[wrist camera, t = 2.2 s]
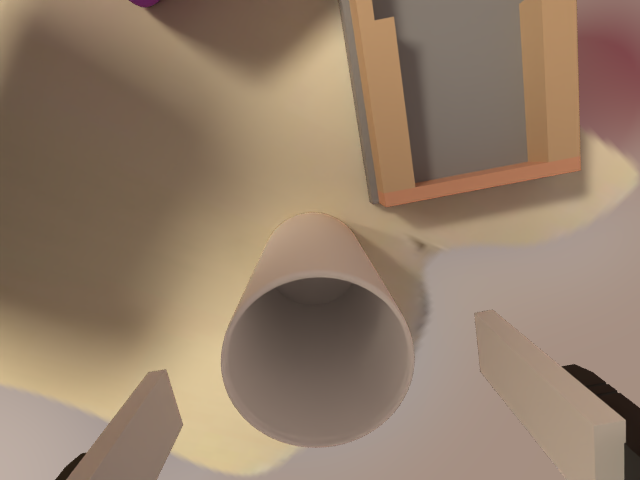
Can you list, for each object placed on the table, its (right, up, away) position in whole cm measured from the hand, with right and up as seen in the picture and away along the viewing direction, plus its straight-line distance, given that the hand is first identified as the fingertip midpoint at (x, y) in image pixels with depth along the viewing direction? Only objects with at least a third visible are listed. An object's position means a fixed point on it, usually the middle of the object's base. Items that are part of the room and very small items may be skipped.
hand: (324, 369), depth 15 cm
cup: (-1, +4, +16) cm, 16 cm away
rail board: (+9, +21, +12) cm, 26 cm away
